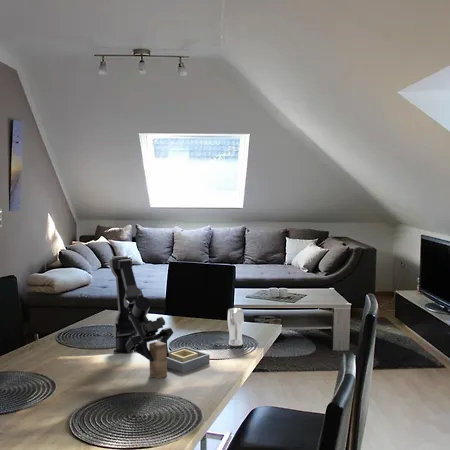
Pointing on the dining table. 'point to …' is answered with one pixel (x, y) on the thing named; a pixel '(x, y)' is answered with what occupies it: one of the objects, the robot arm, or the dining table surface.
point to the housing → (186, 359)
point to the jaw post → (158, 359)
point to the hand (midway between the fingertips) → (160, 359)
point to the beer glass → (235, 326)
